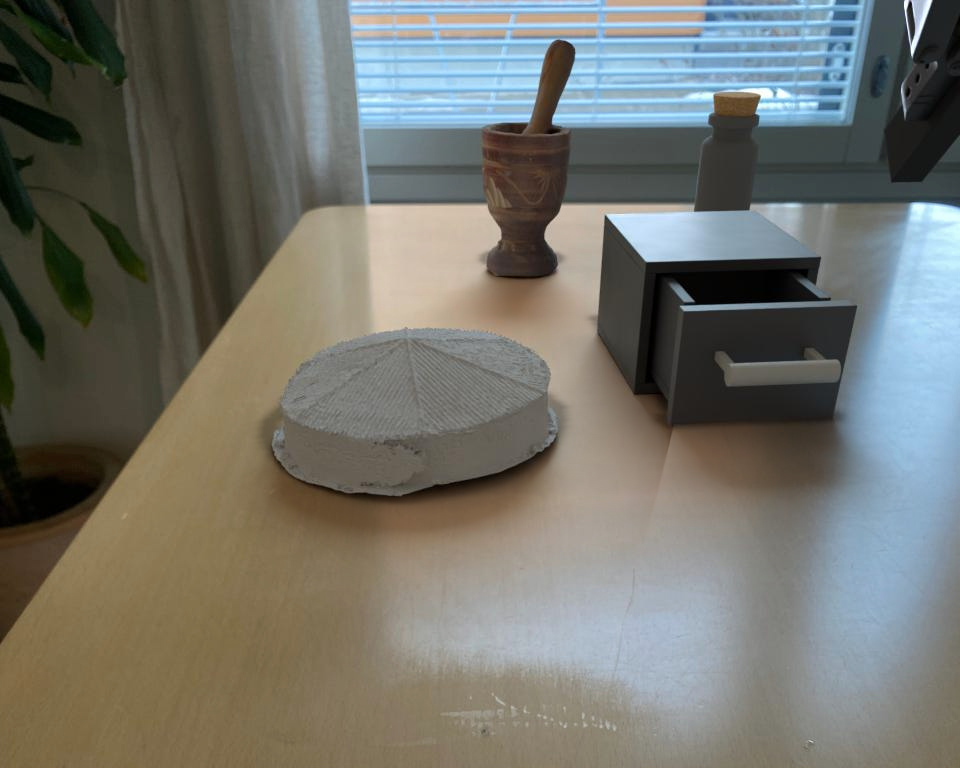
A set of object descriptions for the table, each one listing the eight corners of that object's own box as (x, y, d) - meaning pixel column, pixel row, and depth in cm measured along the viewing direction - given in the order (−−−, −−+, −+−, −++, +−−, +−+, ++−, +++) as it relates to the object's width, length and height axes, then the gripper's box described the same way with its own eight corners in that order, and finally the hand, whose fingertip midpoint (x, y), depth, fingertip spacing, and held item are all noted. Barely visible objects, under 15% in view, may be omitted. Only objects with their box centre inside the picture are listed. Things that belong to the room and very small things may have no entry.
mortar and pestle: (497, 248, 108) (499, 36, 96) (574, 253, 106) (585, 38, 95) (473, 277, 99) (471, 47, 87) (557, 282, 97) (567, 49, 85)
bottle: (726, 241, 110) (747, 89, 101) (753, 253, 106) (778, 96, 97) (679, 245, 109) (697, 91, 100) (705, 258, 104) (726, 99, 95)
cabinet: (796, 387, 74) (821, 256, 69) (633, 394, 73) (646, 262, 68) (737, 326, 86) (755, 210, 80) (596, 331, 85) (604, 214, 80)
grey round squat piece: (594, 488, 61) (601, 383, 57) (270, 514, 58) (254, 405, 54) (529, 374, 77) (531, 285, 73) (272, 390, 74) (260, 299, 70)
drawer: (857, 445, 64) (886, 326, 59) (686, 453, 63) (702, 333, 58) (767, 352, 78) (785, 250, 73) (627, 357, 77) (636, 255, 73)
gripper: (1165, -387, 21) (776, 232, 45) (1701, -373, 22) (1047, 226, 46) (1108, -650, 23) (758, 86, 46) (1619, -626, 24) (1023, 83, 47)
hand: (902, 155), depth 46 cm, fingers closed
